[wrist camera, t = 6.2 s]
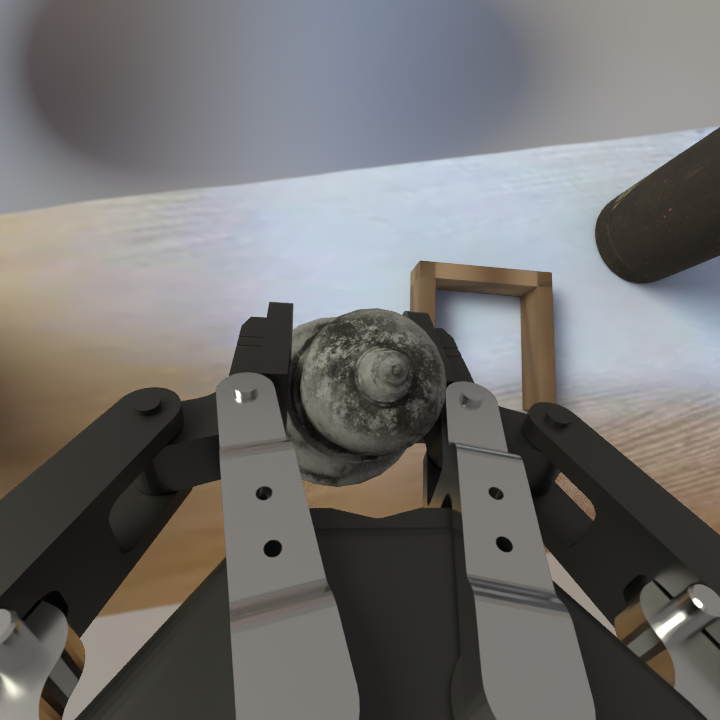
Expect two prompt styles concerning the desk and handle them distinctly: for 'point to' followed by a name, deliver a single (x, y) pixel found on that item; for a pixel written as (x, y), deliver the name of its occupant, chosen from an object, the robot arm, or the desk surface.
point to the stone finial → (360, 394)
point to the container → (665, 217)
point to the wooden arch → (504, 282)
